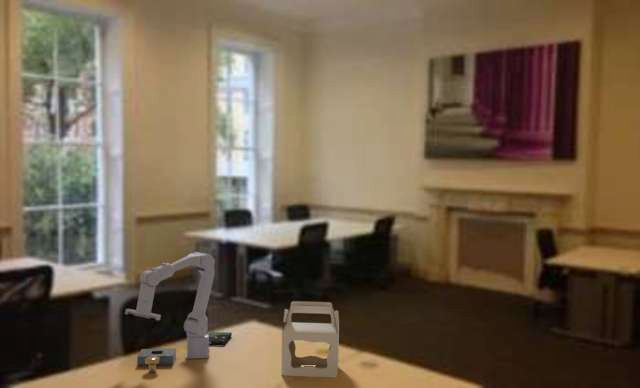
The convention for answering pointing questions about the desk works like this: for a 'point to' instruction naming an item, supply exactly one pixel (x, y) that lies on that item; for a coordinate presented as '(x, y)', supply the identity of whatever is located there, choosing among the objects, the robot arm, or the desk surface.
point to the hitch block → (165, 356)
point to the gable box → (310, 334)
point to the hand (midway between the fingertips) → (139, 335)
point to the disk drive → (219, 338)
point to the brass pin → (152, 363)
